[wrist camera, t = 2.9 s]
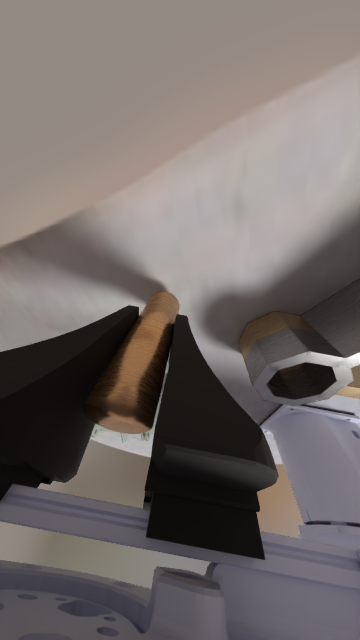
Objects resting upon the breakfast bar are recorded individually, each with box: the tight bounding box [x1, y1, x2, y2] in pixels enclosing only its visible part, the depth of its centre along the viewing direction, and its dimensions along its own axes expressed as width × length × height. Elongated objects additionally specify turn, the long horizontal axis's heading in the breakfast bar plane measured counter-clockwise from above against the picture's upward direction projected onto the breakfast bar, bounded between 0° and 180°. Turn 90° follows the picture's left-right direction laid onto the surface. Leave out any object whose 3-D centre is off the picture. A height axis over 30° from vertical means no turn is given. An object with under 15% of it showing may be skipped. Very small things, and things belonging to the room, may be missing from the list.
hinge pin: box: [82, 291, 179, 434], centre depth 8 cm, size 2×2×8 cm
